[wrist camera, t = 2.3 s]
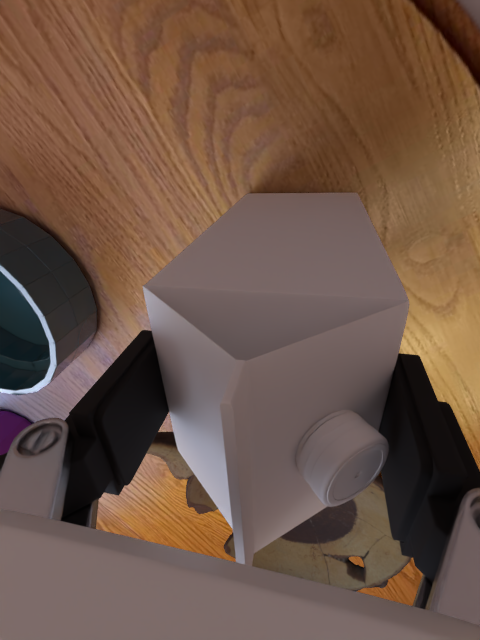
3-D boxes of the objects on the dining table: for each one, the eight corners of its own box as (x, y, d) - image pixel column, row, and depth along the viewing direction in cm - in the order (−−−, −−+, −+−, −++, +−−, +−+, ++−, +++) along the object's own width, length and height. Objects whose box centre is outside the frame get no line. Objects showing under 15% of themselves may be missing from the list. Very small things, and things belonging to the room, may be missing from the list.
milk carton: (249, 289, 25) (124, 566, 9) (246, 192, 22) (34, 378, 6) (344, 294, 24) (385, 633, 8) (358, 191, 20) (484, 436, 4)
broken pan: (253, 544, 46) (242, 613, 39) (133, 388, 34) (89, 449, 28) (429, 543, 37) (451, 631, 30) (344, 330, 25) (351, 401, 19)
